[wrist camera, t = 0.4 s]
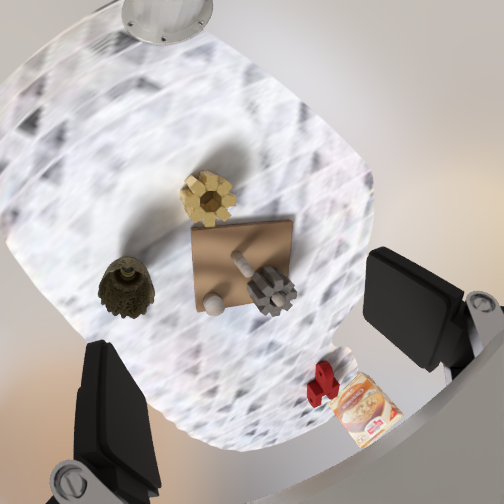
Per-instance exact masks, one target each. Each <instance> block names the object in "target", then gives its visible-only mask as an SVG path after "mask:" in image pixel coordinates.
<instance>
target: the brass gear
mask: <svg viewBox="0 0 504 504" xmlns="http://www.w3.org/2000/svg"><path fill="white" fill-rule="evenodd" d="M185 183H186V184H187V185H188V187H189V188H190V189H187V190H180V199H181V201H182V203H183V205H184V209H185V211H186V212H187V214H188V216H189V218H191V219H192V220H193V221H194V222H195V223H197V222H198V221H199V220H201V221H202V223H203V224H204V226H205V227H214V226H215V220H216V217H218V218H220V219H221V220H222V221H223V222H225V221H226V220H227V219H228V218H229V217H230V216H231V214H230V213H229V212H228V211H227V209H226V207H229V206H236V196H235V195H234V194H232V193H231V192H229V191H230V190H231V189H232V188H233V186H232V185H231V184H230V183H229V182H228V181H227V180H226V179H224V178H223V177H221V176H219V175H215V174H213V173H212V172H210V171H200V177H199V178H198V179H196V178H194V177H193V176H192V175H190V176H189V177H188V178H187V179H186V180H185ZM206 191H213V198H212V199H211V200H210V201H209V202H208V203H200V197H201V196H202V195H203V194H204V193H205V192H206Z"/></svg>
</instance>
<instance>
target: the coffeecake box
mask: <svg viewBox="0 0 504 504" xmlns="http://www.w3.org/2000/svg"><path fill="white" fill-rule="evenodd" d="M328 405H329V406H330V408H331V409H332V411H333V412H334V413H335V415H336V416H337V417H338V419H339V420H340V422H341V423H342V424H343V426H344V427H345V428H346V430H347V431H348V432H349V434H350V435H351V436H352V438H353V439H354V440H355V442H356V443H357V444H358V446H359V447H368V446H369V445H371V444H372V443H373V442H374V441H375V440H376V439H378V438H379V437H380V436H381V435H382V434H384V433H385V432H386V431H387V430H388V429H389V428H390V427H391V426H393V425H394V424H395V423H396V422H397V421H398V420H399V419H400V418H401V417H402V416H403V415H404V414H403V413H402V412H401V411H400V410H399V409H398V408H397V406H396V405H395V404H394V403H393V402H392V401H391V400H390V399H389V397H388V396H387V395H386V394H385V393H384V392H383V391H382V390H381V389H380V388H379V386H378V385H377V384H376V383H375V382H374V381H373V380H372V379H371V378H370V377H369V376H368V375H366V374H364V373H362V372H360V373H359V374H358V375H357V376H356V378H355V379H354V380H353V381H352V382H351V383H350V384H349V385H348V386H347V387H346V388H344V389H343V390H342V391H341V392H340V393H339V394H338V396H337V397H335V398H334V399H333V400H332V401H331V402H329V403H328Z"/></svg>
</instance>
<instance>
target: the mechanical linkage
mask: <svg viewBox="0 0 504 504" xmlns="http://www.w3.org/2000/svg"><path fill="white" fill-rule="evenodd" d="M339 386H340V384H339V383H338V382H337V380H336V379H335V378H334V373H333V370H332V367H331V366H330V364H329V363H328V362H327V361H323V362H321V363H319V364H317V365H316V374H315V380H314V381H312V382H310V383H308V384H307V398H308V401H309V403H310V404H311V406H312V407H313V408H315V407H317V406H320V405H321V400H322V396H324V395H326V396H327V397H328V398H329V399H331V400H332V399H333V398H335V397H337V396H338V392H339Z"/></svg>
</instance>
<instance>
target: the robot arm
mask: <svg viewBox="0 0 504 504" xmlns="http://www.w3.org/2000/svg"><path fill="white" fill-rule="evenodd" d="M212 11H213V2H212V0H125V2H124V5H123V8H122V21H123V24H124V27H125V29H126V30H127V31H128V33H129V34H130V35H131V36H133V37H134V38H135V39H137V40H139V41H141V42H144V43H147V44H151V45H172V44H177V43H180V42H183V41H186V40H188V39H190V38H192V37H193V36H195V35H196V34H198V33H199V32H200V31H201V30H202V29H203V28H204V27H205V25H206V24H207V23H208V21H209V19H210V17H211V14H212ZM199 23H200V24H201V25H199ZM130 25H133V26H130ZM163 39H165V40H166V41H162V40H163ZM463 296H464V291H462V290H461V289H459V288H457V287H456V286H454V285H452V284H451V283H449V282H447V281H445V280H444V279H442V278H440V277H439V276H437V275H435V274H434V273H432V272H430V271H428V270H427V269H425V268H423V267H421V266H419V265H418V264H416V263H414V262H412V261H410V260H409V259H407V258H405V257H403V256H401V255H399V254H398V253H396V252H394V251H392V250H390V249H388V248H386V247H380V248H377V249H374V250H372V251H371V252H370V253H369V256H368V257H367V260H366V279H365V292H364V305H363V316H364V318H365V320H367V322H369V323H370V324H371V325H372V326H373V327H375V328H376V329H377V330H378V331H379V332H380V333H382V334H383V335H384V336H385V337H386V338H387V339H388V340H390V341H391V342H392V343H393V344H394V345H395V346H396V347H398V348H399V349H400V350H401V351H402V352H403V353H405V354H406V355H407V356H408V357H409V358H410V359H411V360H412V361H414V362H415V363H416V364H417V365H418V366H419V367H421V368H425V369H426V370H427V371H428V372H432V371H433V370H434V369H435V368H436V367H437V366H439V363H440V361H441V362H442V363H443V366H444V372H445V379H446V387H445V388H444V389H443V390H442V391H441V392H440V393H439V394H437V395H436V396H435V397H434V398H433V399H432V400H430V401H429V402H428V403H427V404H426V405H424V406H423V407H422V408H421V409H420V410H418V411H417V412H416V413H415V414H413V415H412V416H411V417H409V418H408V419H407V420H405V421H404V422H403V423H401V424H400V425H399V426H397V427H396V428H394V429H393V430H392V431H390V432H389V433H387V434H386V435H384V436H383V437H382V438H380V439H379V440H377V441H375V442H374V443H372V444H371V445H369V446H368V447H366V448H365V449H363V450H361V451H360V452H358V453H356V454H355V455H353V456H351V457H350V458H348V459H346V460H344V461H342V462H340V463H339V464H337V465H335V466H333V467H331V468H329V469H327V470H325V471H324V472H321V473H320V474H317V475H316V476H313V477H311V478H309V479H307V480H305V481H303V482H300V483H298V484H296V485H293V486H291V487H289V488H286V489H284V490H281V491H279V492H276V493H274V494H271V495H269V496H266V497H263V498H260V499H257V500H254V501H251V502H248V503H245V504H504V306H499V304H498V302H497V300H496V299H495V298H494V297H493V296H491V295H490V294H488V293H485V292H482V291H473V292H471V293H469V294H468V295H467V297H466V301H465V302H464V301H462V298H463ZM50 487H51V491H52V493H53V496H52V497H51V498H50V499H49V500H48V502H47V503H46V504H150V500H149V498H150V497H157V496H159V493H158V488H161V480H160V475H159V471H158V467H157V462H156V457H155V452H154V446H153V441H152V435H151V429H150V423H149V416H148V409H147V402H146V399H145V396H144V394H143V393H142V391H141V390H140V388H139V387H138V385H137V384H136V382H135V381H134V379H133V378H132V376H131V375H130V373H129V371H128V370H127V368H126V367H125V365H124V363H123V362H122V360H121V359H120V357H119V355H118V353H117V352H116V350H115V348H114V347H113V345H112V344H111V343H110V342H109V343H106V342H105V341H104V340H99V341H95V342H91V343H88V344H87V346H86V352H85V358H84V365H83V372H82V380H81V387H80V388H79V389H78V392H77V400H76V411H75V427H74V460H65V461H62V462H60V463H59V464H58V465H56V466H55V468H54V469H53V470H52V473H51V476H50Z"/></svg>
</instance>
